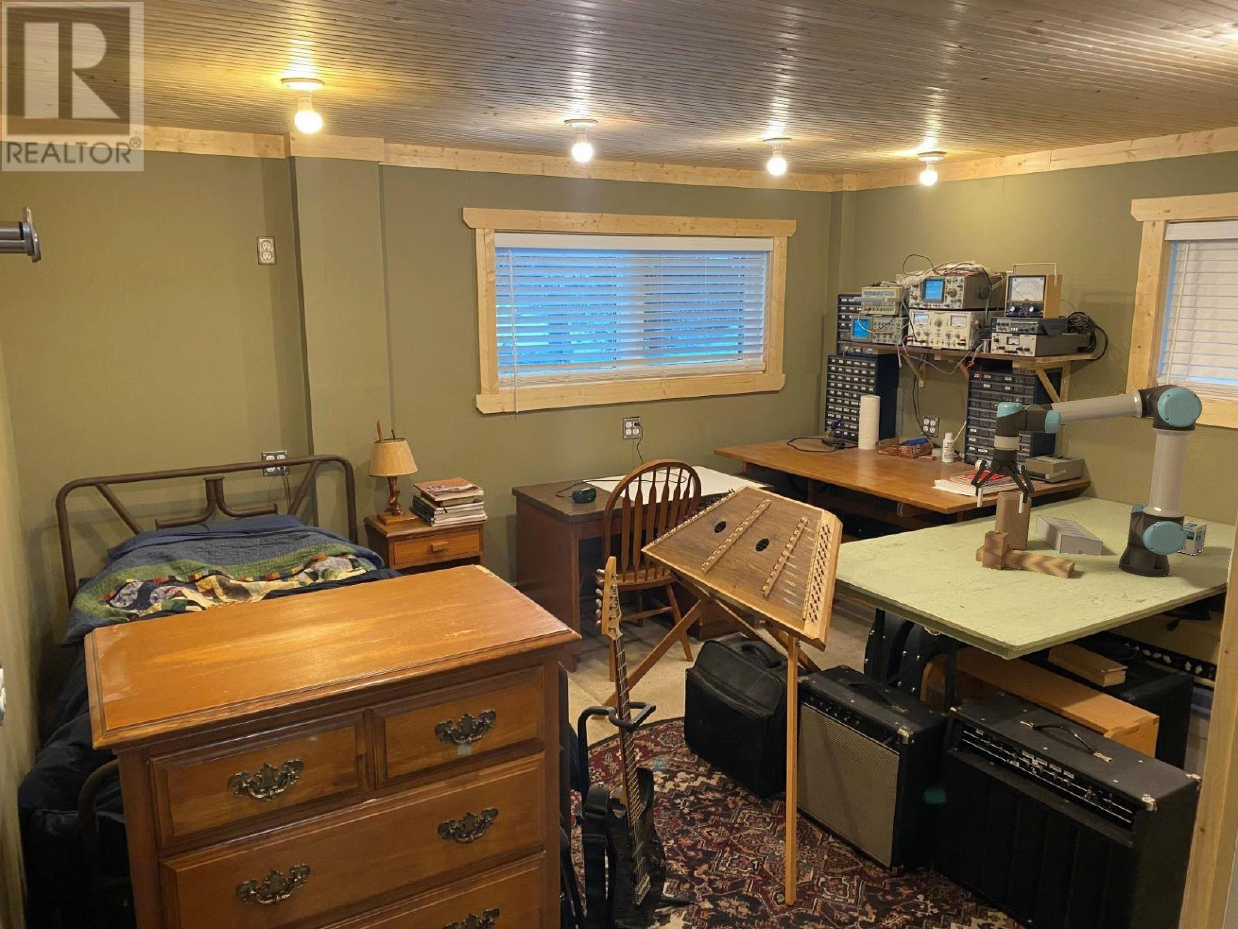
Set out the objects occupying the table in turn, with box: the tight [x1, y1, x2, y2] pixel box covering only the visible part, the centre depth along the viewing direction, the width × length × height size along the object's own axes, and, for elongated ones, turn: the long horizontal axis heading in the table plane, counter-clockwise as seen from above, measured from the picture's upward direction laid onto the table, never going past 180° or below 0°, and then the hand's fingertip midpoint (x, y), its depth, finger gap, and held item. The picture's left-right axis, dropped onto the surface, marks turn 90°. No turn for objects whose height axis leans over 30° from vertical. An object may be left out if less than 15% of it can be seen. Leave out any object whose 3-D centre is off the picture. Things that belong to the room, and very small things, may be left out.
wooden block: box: [994, 491, 1033, 551], centre depth 328 cm, size 10×10×20 cm
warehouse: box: [1035, 514, 1104, 556], centre depth 334 cm, size 30×14×8 cm, turn 170°
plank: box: [975, 544, 1076, 579], centre depth 305 cm, size 30×9×4 cm, turn 51°
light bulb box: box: [1179, 519, 1208, 556], centre depth 325 cm, size 11×7×11 cm, turn 129°
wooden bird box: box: [981, 528, 1010, 571], centre depth 306 cm, size 6×15×13 cm, turn 141°
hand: (999, 509), depth 300 cm, fingers open, 13 cm apart
